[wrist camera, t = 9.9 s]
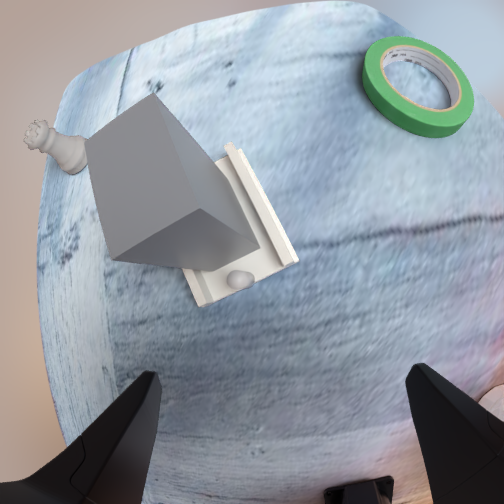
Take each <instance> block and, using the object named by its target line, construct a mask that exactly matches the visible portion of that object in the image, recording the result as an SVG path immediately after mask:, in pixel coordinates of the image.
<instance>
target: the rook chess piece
mask: <svg viewBox="0 0 504 504" xmlns="http://www.w3.org/2000/svg"><path fill="white" fill-rule="evenodd" d="M34 123H35V124H33V123H31V125H30V126H29V128H31V130H30V132H29V131H26V133H25V136H27V138H24V142H25V143H26V144H28V148H29V149H30V150H34V149H37V148H38V149H39V150H40V152H41V153H44V152H45V153H48V154H49V155H51V156H52V157H53V158H55V159H56V161H57V163H58V164H59V166H60V168H61V169H62V170H63V171H66V172H67V173H68V174H75V173H78V172H79V171H81V170H82V169H83V168H84V167H85V166H86V165H87V157H86V151H85V145H84V142H85V141H87V140H88V139H86V138H83V137H82V136H79V135H78V136H66V135H63V134H60V133H58V132H56V130H55V128H49V127H48V123H47V121H46V120H43V121H38V120H35V121H34Z"/></svg>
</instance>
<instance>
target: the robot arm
mask: <svg viewBox="0 0 504 504" xmlns="http://www.w3.org/2000/svg"><path fill="white" fill-rule="evenodd" d="M405 384H406V389H407V394H408V399H409V404H410V409H411V414H412V418H413V422H414V426H415V429H416V433H417V436H418V440H419V443H420V447H421V451H422V455H423V459H424V463H425V467H426V471H427V475H428V480H429V484H430V489H431V494H432V499H433V504H504V422H503V421H501V420H500V419H499V418H497V417H496V416H494V415H493V414H492V413H490V412H489V411H488V410H487V411H486V409H485V408H484V407H482V406H481V405H480V404H479V403H477V402H476V401H475V400H473V399H472V398H471V397H469V396H468V395H467V394H465V393H464V392H463V391H461V390H460V389H459V388H457V387H456V386H455V385H453V384H452V383H451V382H449V381H448V380H447V379H445V378H444V377H442V376H441V375H440V374H438V373H437V372H436V371H434V370H433V369H432V368H430V367H429V366H428V365H426V364H425V363H417V364H414V365H413V366H412V368H411V370H410V372H409V374H408V376H407V377H406V381H405ZM161 393H162V388H161V384H160V380H159V377H158V374H157V372H155V371H147V370H146V371H144V372H142V374H141V375H140V376H139V377H138V378H137V379H136V380H135V381H134V382H133V383H132V384H131V385H130V386H129V387H128V388H127V389H126V390H125V391H124V392H123V393H122V394H121V395H120V396H119V397H118V398H117V399H116V400H115V401H114V402H113V403H112V404H111V405H110V406H109V407H108V408H107V409H106V410H105V411H104V412H103V413H102V414H101V415H100V416H99V417H98V418H97V419H96V420H95V421H94V422H93V423H92V424H91V425H90V426H89V427H88V428H87V429H86V430H85V431H84V432H83V433H82V434H81V435H80V436H78V437H77V438H76V439H75V440H74V441H73V442H72V443H71V444H70V445H69V446H68V447H67V448H66V449H65V450H64V451H63V452H61V453H60V454H59V455H58V456H56V457H55V458H54V459H53V460H51V461H50V462H49V463H47V464H46V465H45V466H43V467H42V468H40V469H39V470H38V471H37V472H35V473H34V474H32V475H31V476H29V477H27V478H25V479H22V480H19V481H12V482H3V483H0V504H141V501H142V496H143V491H144V487H145V482H146V477H147V473H148V468H149V464H150V459H151V455H152V450H153V446H154V442H155V438H156V433H157V427H158V418H159V410H160V401H161ZM387 481H389V482H387ZM393 486H394V479H393V477H391V476H389V477H385V478H381V479H377V480H372V481H368V482H363V483H358V484H353V485H347V486H341V487H335V488H329V489H326V490H325V491H324V498H325V504H392V496H393ZM329 492H331V493H329Z"/></svg>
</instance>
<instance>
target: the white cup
mask: <svg viewBox="0 0 504 504" xmlns="http://www.w3.org/2000/svg"><path fill="white" fill-rule="evenodd" d="M478 403H479V404H480V405H481V406H482V407H484V408H485V409H486V411H487V410H488V411H489V412H490V413H492V414H493V415H494V416H496V417H497V418H499V419H500V420H501V421H503V422H504V384H503V385H499V386H496V387H494V388H493V389H492V390H490V391H489V392H488V393H486V394H485V395H484V396H483V397H482V398H481V400H480V401H479V402H478Z"/></svg>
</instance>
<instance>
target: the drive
mask: <svg viewBox="0 0 504 504" xmlns="http://www.w3.org/2000/svg"><path fill="white" fill-rule="evenodd" d="M84 145H85V151H86V157H87V163H88V168H89V174H90V179H91V183H92V188H93V193H94V197H95V202H96V206H97V210H98V214H99V218H100V222H101V226H102V230H103V233H104V237H105V240H106V244H107V247H108V251H109V254H110V257H111V260H115V261H123V262H131V263H139V264H148V265H157V266H165V267H174V268H184V269H193V270H202V271H212V272H213V271H215V270H217V269H219V268H221V267H223V266H225V265H227V264H229V263H231V262H234V261H236V260H238V259H240V258H242V257H244V256H246V255H248V254H250V253H252V252H254V251H256V250H258V249H260V248H261V247H260V245H259V243H258V241H257V239H256V237H255V234H254V232H253V230H252V228H251V226H250V224H249V222H248V220H247V218H246V216H245V213H244V211H243V209H242V207H241V205H240V203H239V201H238V199H237V197H236V195H235V192H234V190H233V188H232V186H231V184H230V182H229V180H228V179H227V177H226V176H225V175H224V174H223V173H222V171H221V170H220V169H219V168H218V167H217V165H216V164H215V163H214V162H213V161H212V159H211V158H210V157H209V156H208V155H207V154H206V152H205V151H204V150H203V149H202V148H201V146H200V145H199V144H198V143H197V142H196V141H195V139H194V138H193V137H192V136H191V135H190V134H189V132H188V131H187V130H186V129H185V128H184V127H183V126H182V124H181V123H180V122H179V121H178V120H177V119H176V117H175V116H174V115H173V114H172V113H171V112H170V111H169V109H168V108H167V107H166V106H165V105H164V104H163V103H162V101H161V100H160V99H159V98H158V97H157V96H156V95H155V94H154V92H153V93H152V94H150V95H149V96H147V97H145V98H144V99H142V100H141V101H139V102H138V103H136V104H135V105H133V106H132V107H130V108H129V109H128V110H126V111H125V112H123V113H122V114H121V115H119V116H118V117H116V118H115V119H114V120H112V121H111V122H110V123H108V124H107V125H106V126H104V127H103V128H102V129H100V130H99V131H98V132H97V133H95V134H94V135H93V136H92V137H90V138H89V139H88V140H87V141H85V142H84Z"/></svg>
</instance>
